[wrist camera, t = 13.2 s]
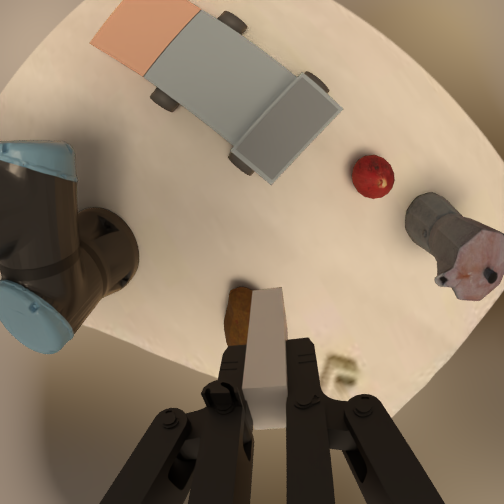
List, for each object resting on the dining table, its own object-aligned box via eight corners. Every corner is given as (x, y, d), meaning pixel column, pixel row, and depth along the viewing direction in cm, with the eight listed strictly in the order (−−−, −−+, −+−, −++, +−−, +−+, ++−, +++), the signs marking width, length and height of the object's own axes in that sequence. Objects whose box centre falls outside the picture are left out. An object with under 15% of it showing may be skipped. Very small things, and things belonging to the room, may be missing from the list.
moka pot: (381, 204, 42) (447, 262, 24) (460, 176, 39) (544, 214, 21) (394, 258, 46) (450, 333, 28) (467, 228, 43) (539, 283, 24)
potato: (283, 285, 49) (285, 317, 41) (269, 341, 54) (269, 375, 46) (231, 277, 49) (224, 307, 41) (223, 333, 54) (216, 367, 46)
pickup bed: (336, 103, 37) (355, 98, 28) (262, 182, 42) (260, 198, 34) (216, 10, 32) (202, -16, 23) (146, 90, 37) (116, 84, 29)
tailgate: (201, 9, 29) (145, -24, 25) (143, 76, 33) (89, 43, 29) (201, 12, 30) (147, -21, 26) (145, 76, 35) (93, 44, 30)
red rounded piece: (343, 155, 40) (359, 162, 33) (380, 150, 39) (402, 157, 32) (349, 194, 42) (364, 209, 35) (385, 188, 41) (406, 202, 34)
